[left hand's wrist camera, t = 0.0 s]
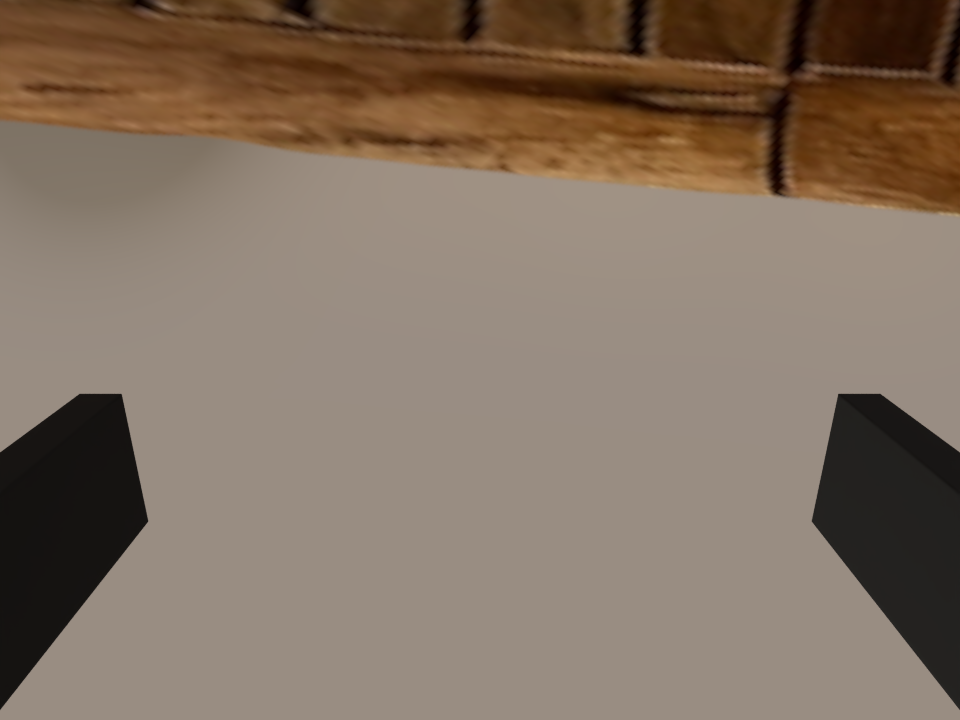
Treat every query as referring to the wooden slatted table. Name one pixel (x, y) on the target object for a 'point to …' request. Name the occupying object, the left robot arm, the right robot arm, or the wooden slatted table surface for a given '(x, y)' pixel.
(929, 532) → the left robot arm
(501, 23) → the wooden slatted table surface
